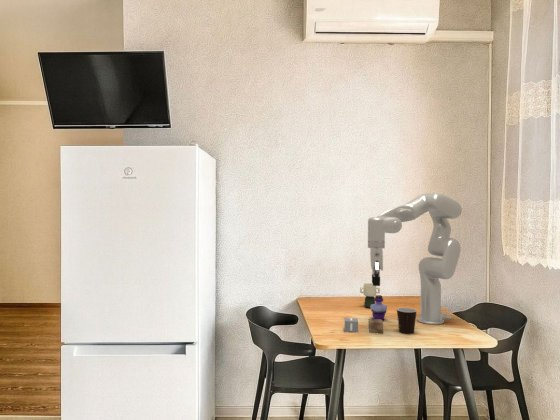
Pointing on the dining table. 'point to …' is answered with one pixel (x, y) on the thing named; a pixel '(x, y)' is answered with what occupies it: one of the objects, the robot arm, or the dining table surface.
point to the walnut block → (375, 326)
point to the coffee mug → (406, 320)
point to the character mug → (369, 293)
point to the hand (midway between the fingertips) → (375, 284)
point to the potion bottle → (378, 308)
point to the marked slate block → (351, 324)
